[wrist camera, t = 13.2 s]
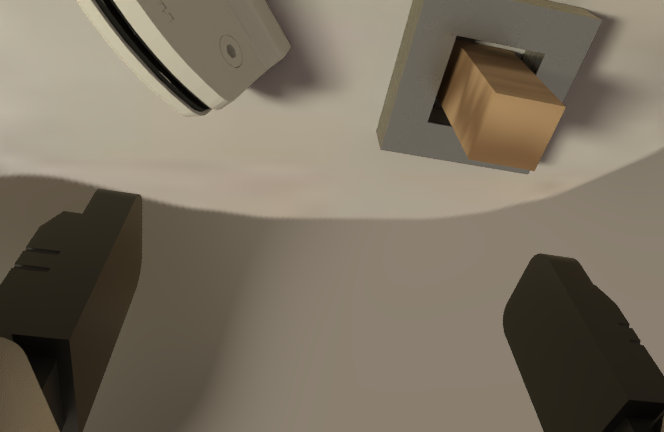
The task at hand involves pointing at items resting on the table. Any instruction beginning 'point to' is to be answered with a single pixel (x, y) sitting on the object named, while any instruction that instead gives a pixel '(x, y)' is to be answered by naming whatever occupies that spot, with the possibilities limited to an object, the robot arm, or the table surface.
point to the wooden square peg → (497, 106)
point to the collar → (486, 25)
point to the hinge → (192, 46)
